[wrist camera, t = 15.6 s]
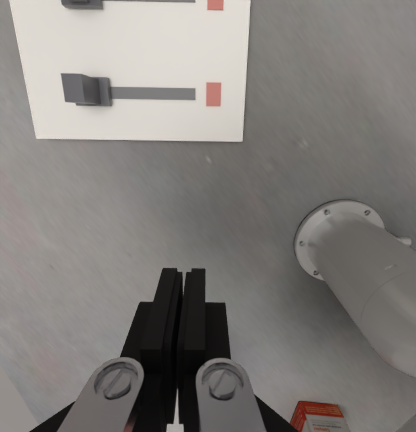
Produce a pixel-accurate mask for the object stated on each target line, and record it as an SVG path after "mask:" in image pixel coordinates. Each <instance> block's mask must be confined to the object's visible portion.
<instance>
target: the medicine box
mask: <svg viewBox="0 0 416 432" xmlns="http://www.w3.org/2000/svg"><path fill="white" fill-rule="evenodd" d="M290 424H291V425H292V426H293V427H294V428H295V429H297V430H298V431H299V432H350V429H349V427H348V425H347V423H346V421H345V419H344V417H343V415H342V413H341V411H340V409H339V407H338V405H333V404H322V403H312V402H303V401H299V402H298V405H297V407H296V410H295V412H294V415H293V417H292V420H291V422H290Z"/></svg>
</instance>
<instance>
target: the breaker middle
mask: <svg viewBox="0 0 416 432" xmlns="http://www.w3.org/2000/svg"><path fill="white" fill-rule="evenodd" d="M61 3H62V5H63V6H64V7H65V8H99V9H102V1H101V0H61Z"/></svg>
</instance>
